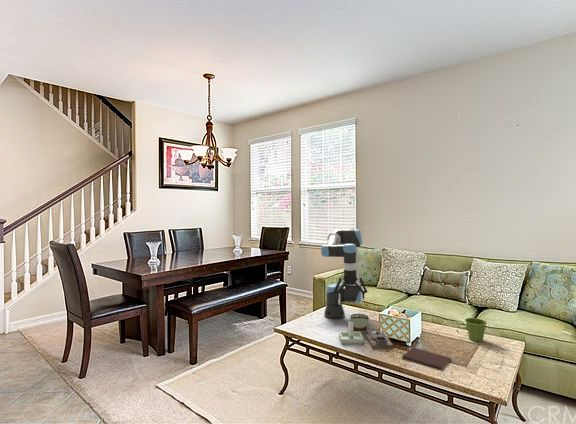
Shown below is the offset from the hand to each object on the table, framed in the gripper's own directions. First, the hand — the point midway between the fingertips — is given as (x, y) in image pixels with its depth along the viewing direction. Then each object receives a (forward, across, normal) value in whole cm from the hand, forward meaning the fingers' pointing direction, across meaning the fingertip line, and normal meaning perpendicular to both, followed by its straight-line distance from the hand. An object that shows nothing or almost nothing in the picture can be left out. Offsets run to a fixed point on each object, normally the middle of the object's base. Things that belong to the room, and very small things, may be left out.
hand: (350, 304), depth 202 cm
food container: (+22, +8, +16) cm, 29 cm away
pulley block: (+22, +16, -5) cm, 28 cm away
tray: (+22, 0, -1) cm, 22 cm away
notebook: (+22, +36, -26) cm, 49 cm away
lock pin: (+21, 0, -1) cm, 21 cm away
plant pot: (+22, +75, -1) cm, 78 cm away
